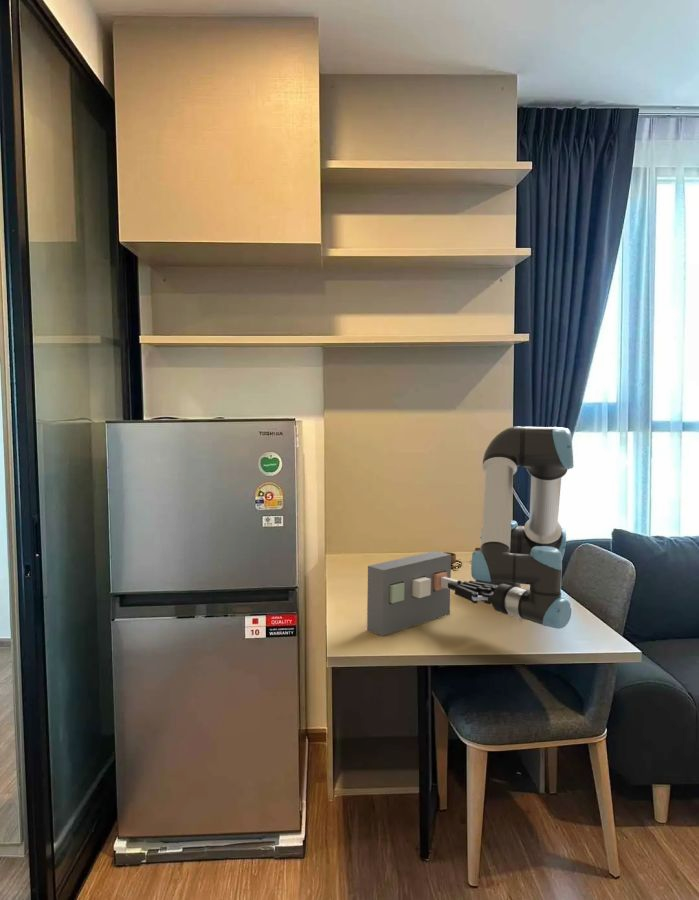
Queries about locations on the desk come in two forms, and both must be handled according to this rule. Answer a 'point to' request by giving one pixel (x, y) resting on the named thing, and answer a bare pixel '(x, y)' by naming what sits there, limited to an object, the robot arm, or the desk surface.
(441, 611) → the button panel
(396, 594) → the sage green button
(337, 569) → the desk surface
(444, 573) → the terracotta button
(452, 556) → the place setting
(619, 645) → the desk surface
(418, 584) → the cream button
